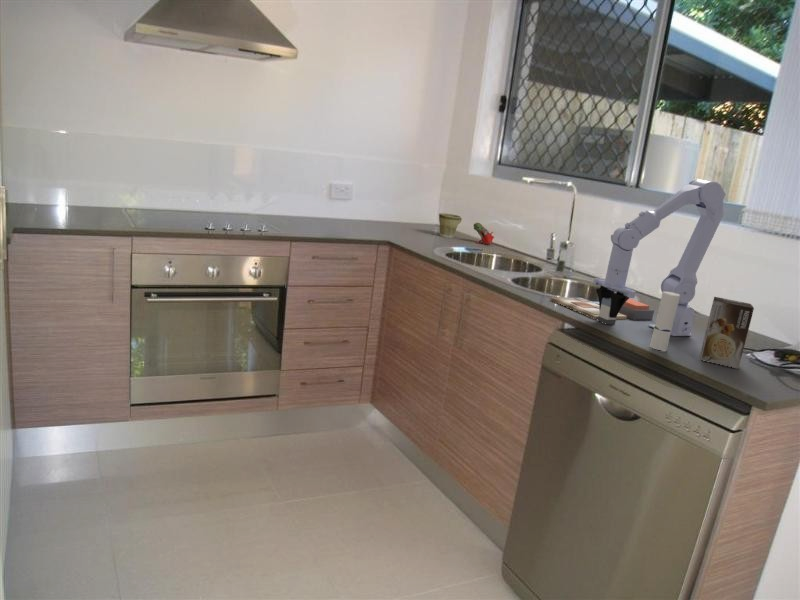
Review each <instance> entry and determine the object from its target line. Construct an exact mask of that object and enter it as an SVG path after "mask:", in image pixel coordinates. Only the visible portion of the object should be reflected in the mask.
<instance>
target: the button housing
mask: <svg viewBox="0 0 800 600" xmlns="http://www.w3.org/2000/svg"><path fill="white" fill-rule="evenodd" d="M619 313H620V314H623V315H625V316H627V318H629V319H631V320H632V321H636V320H637V321H644V320H645V321H646V320H647V321H649V320H650V321H652V320H653V317H654V313H655V309H652V308H649V310H635V309H633V308H630V307H627V306H625V305H623V306H622V307H621V309H620V311H619Z"/></svg>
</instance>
